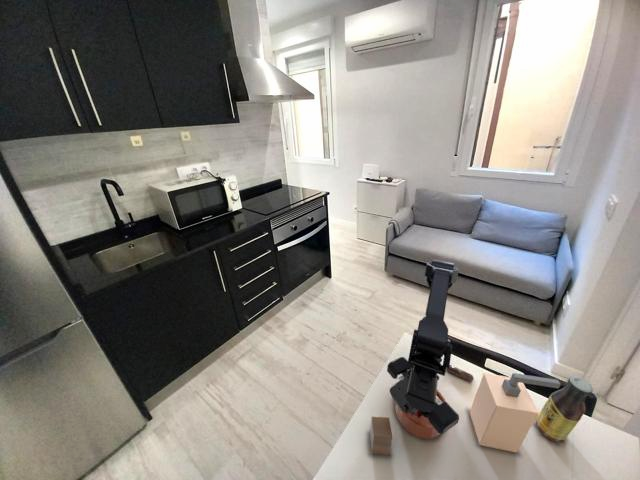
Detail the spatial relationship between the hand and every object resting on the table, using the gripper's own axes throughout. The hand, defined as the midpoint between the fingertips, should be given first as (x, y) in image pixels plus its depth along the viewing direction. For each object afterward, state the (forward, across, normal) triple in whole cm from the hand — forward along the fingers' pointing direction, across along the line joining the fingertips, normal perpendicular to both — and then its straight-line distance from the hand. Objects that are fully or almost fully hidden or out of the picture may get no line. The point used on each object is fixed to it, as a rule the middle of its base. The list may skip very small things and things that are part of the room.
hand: (415, 410), depth 69 cm
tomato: (-1, 0, 0) cm, 1 cm away
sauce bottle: (+5, +18, +30) cm, 36 cm away
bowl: (+5, -1, +3) cm, 6 cm away
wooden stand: (+5, 0, -12) cm, 13 cm away
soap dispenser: (+5, +12, +19) cm, 23 cm away
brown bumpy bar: (+5, -4, +24) cm, 25 cm away
